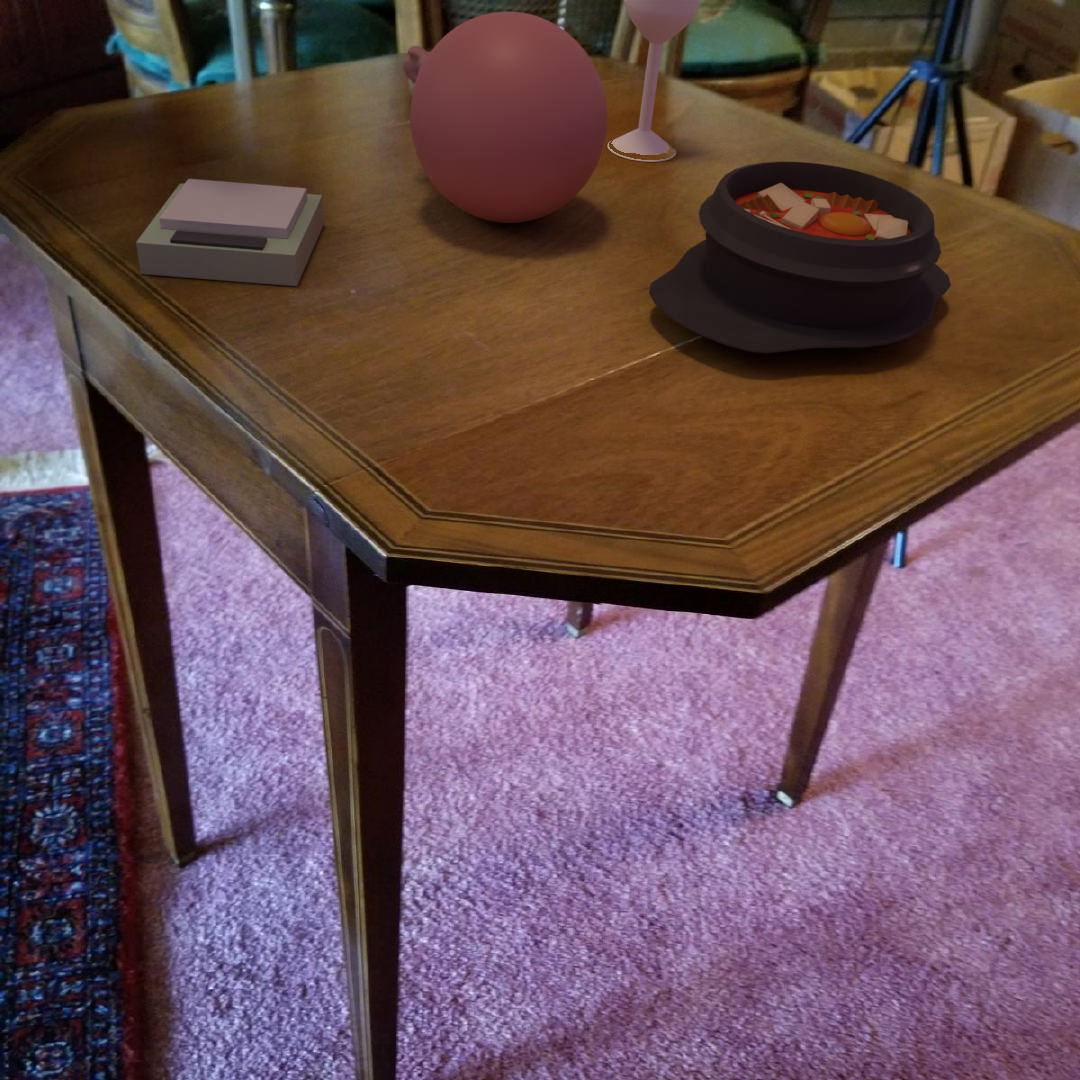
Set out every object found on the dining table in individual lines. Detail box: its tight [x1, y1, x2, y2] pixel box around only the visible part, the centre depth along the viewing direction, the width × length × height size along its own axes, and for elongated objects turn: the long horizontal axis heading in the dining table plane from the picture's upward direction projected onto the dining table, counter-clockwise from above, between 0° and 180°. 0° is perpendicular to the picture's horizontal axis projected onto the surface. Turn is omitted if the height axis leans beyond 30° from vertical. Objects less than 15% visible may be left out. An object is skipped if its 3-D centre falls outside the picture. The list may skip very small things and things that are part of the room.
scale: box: [135, 178, 325, 287], centre depth 80 cm, size 11×11×3 cm
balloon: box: [402, 11, 608, 224], centre depth 86 cm, size 15×20×15 cm
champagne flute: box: [607, 0, 700, 163], centre depth 97 cm, size 7×7×24 cm
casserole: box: [648, 161, 952, 354], centre depth 78 cm, size 25×19×8 cm
